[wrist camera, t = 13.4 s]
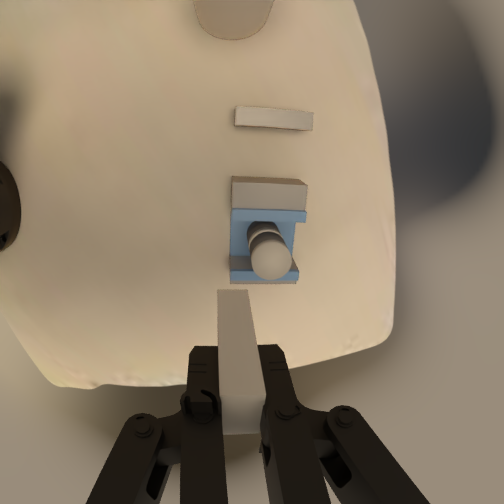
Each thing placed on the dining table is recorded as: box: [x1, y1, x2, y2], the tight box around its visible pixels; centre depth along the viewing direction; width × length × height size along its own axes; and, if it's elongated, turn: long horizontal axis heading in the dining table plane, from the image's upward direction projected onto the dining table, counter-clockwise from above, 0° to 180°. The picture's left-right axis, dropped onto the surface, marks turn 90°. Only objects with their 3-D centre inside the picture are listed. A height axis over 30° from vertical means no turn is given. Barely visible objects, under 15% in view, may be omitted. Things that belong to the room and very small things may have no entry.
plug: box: [247, 221, 292, 280], centre depth 32 cm, size 4×4×8 cm
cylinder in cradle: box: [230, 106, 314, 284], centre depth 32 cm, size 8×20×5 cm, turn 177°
